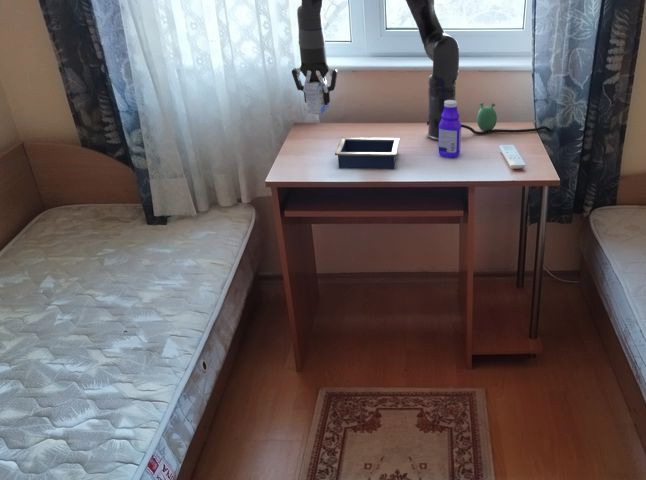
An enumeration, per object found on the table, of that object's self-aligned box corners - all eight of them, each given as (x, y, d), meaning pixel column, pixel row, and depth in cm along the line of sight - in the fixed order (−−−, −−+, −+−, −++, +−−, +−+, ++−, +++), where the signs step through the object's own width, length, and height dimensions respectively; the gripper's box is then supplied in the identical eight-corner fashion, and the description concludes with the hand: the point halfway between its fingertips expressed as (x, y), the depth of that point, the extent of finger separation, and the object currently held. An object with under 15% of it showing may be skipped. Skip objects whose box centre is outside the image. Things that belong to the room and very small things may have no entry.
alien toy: (495, 127, 243) (496, 99, 237) (496, 134, 237) (498, 105, 231) (475, 127, 243) (476, 99, 237) (477, 134, 237) (478, 105, 231)
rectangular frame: (399, 153, 221) (399, 138, 218) (396, 170, 209) (395, 154, 206) (342, 152, 221) (341, 137, 218) (336, 169, 209) (334, 153, 206)
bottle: (462, 154, 220) (464, 100, 210) (457, 159, 216) (458, 105, 206) (441, 151, 222) (442, 97, 212) (436, 157, 218) (436, 102, 208)
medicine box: (321, 114, 203) (318, 85, 198) (307, 113, 204) (304, 84, 199) (329, 107, 209) (326, 78, 204) (315, 106, 210) (313, 77, 205)
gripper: (338, 42, 198) (342, 101, 208) (290, 41, 198) (296, 100, 209) (334, 48, 192) (339, 108, 202) (285, 47, 192) (292, 107, 202)
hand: (317, 104), depth 205 cm, fingers closed on medicine box, 5 cm apart
